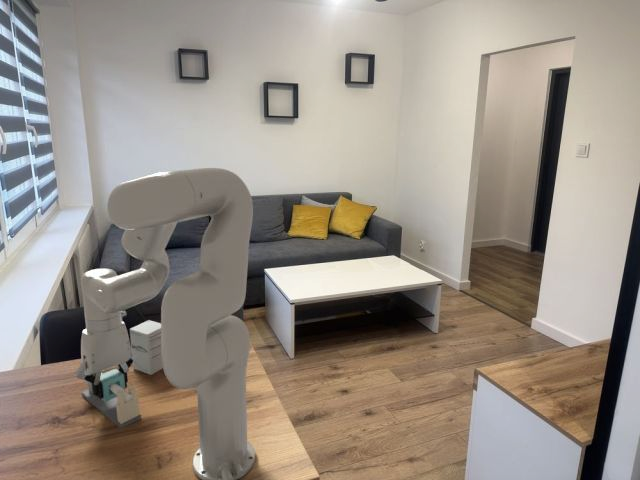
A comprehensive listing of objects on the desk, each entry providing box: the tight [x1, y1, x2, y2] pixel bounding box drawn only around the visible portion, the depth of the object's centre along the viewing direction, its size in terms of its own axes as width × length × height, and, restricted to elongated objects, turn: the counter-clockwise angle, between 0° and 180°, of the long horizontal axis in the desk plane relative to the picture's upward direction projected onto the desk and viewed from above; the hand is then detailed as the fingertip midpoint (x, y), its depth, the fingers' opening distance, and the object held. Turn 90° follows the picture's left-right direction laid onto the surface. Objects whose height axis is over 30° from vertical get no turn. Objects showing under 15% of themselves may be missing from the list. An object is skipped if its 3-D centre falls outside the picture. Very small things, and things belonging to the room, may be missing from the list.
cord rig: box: [81, 368, 142, 429], centre depth 108 cm, size 20×5×8 cm, turn 51°
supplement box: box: [129, 319, 163, 376], centre depth 126 cm, size 7×7×13 cm
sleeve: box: [100, 368, 126, 402], centre depth 106 cm, size 4×5×5 cm
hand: (111, 390), depth 107 cm, fingers closed on sleeve, 5 cm apart
